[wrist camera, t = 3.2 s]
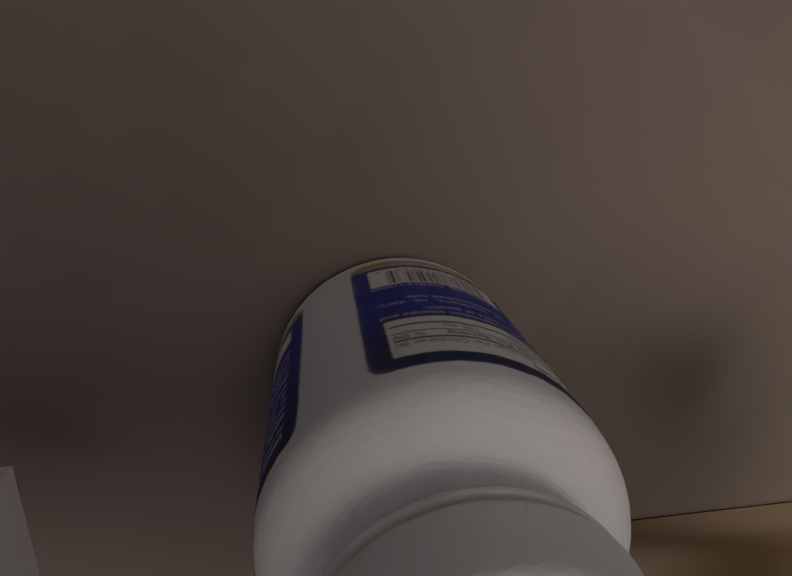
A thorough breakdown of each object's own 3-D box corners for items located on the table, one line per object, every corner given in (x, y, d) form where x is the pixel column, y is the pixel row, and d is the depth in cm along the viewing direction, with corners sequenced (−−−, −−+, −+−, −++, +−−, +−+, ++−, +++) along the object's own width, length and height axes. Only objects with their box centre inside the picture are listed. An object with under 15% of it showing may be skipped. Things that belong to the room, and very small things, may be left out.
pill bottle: (380, 504, 16) (451, 996, 7) (227, 357, 14) (89, 769, 6) (553, 370, 15) (849, 736, 7) (414, 201, 13) (571, 400, 5)
